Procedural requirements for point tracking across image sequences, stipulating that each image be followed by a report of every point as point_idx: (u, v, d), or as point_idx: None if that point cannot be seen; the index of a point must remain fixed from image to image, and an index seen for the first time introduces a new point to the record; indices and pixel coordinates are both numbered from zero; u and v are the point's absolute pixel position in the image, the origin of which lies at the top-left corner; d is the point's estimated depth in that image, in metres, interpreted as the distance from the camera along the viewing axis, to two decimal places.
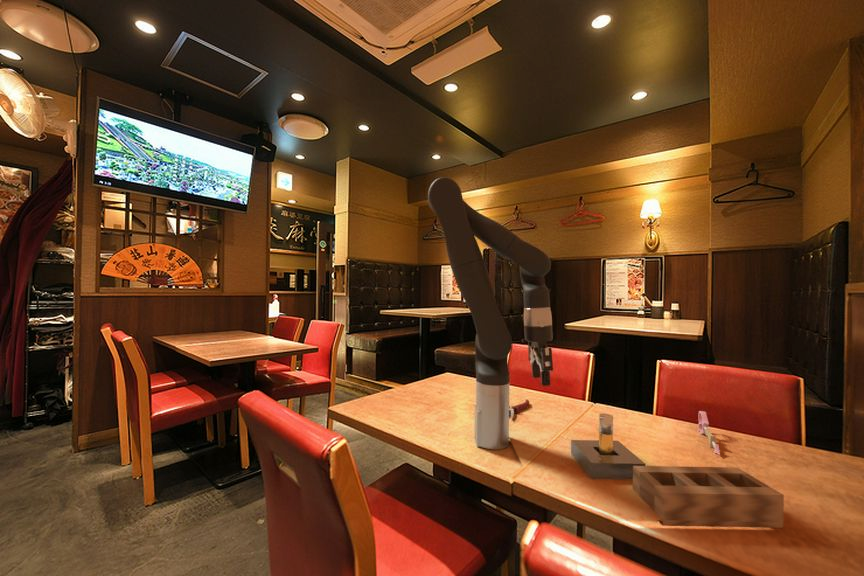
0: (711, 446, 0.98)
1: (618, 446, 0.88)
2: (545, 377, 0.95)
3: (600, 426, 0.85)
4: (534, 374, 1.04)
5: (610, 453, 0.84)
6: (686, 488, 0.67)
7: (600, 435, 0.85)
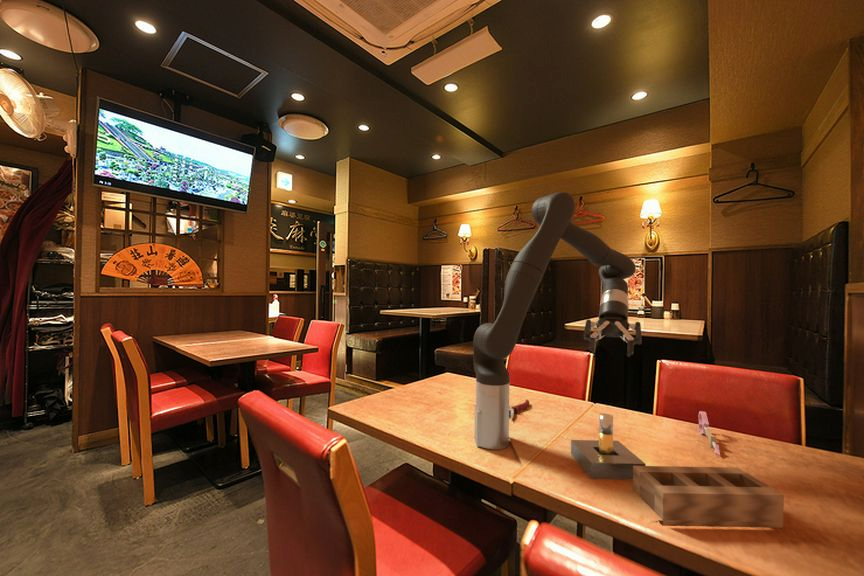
0: (711, 446, 0.98)
1: (618, 446, 0.88)
2: (633, 346, 0.94)
3: (600, 426, 0.85)
4: (594, 347, 0.98)
5: (610, 453, 0.84)
6: (686, 488, 0.67)
7: (600, 435, 0.85)
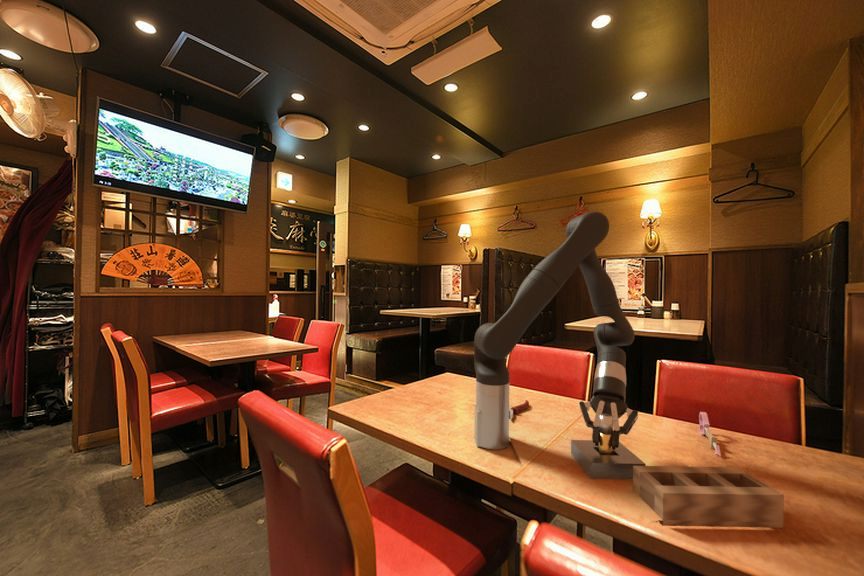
0: (712, 447, 0.98)
1: None
2: (618, 438, 0.84)
3: (600, 426, 0.85)
4: (598, 439, 0.85)
5: (610, 453, 0.84)
6: (686, 488, 0.67)
7: (600, 435, 0.85)
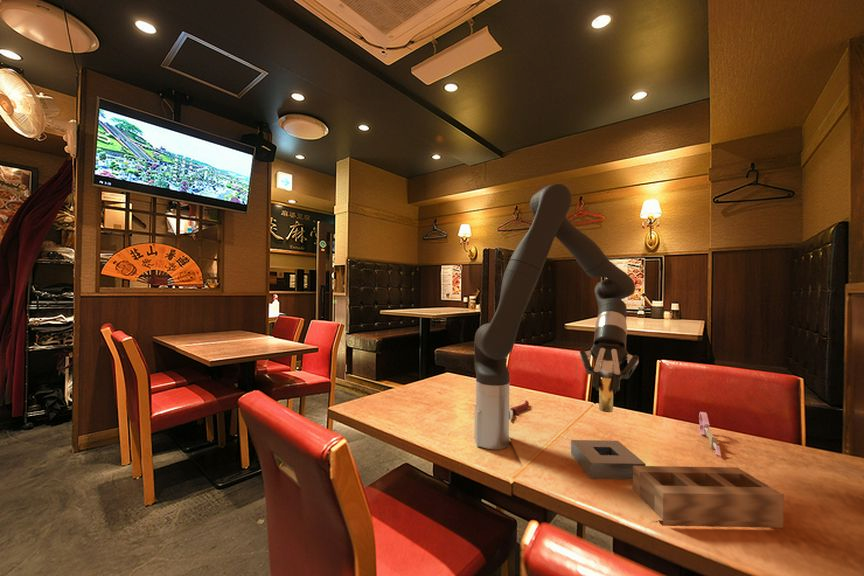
0: (712, 447, 0.97)
1: (618, 446, 0.88)
2: None
3: (601, 370, 0.85)
4: (598, 383, 0.85)
5: (610, 397, 0.84)
6: (686, 488, 0.67)
7: (600, 380, 0.85)
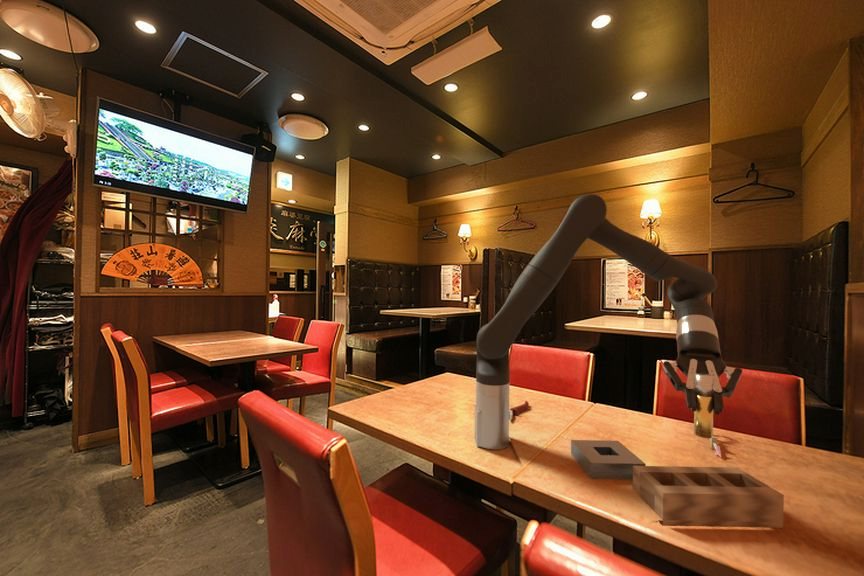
0: (712, 448, 0.97)
1: (618, 446, 0.88)
2: None
3: (697, 387, 0.71)
4: (695, 403, 0.70)
5: (711, 419, 0.69)
6: (686, 488, 0.67)
7: (697, 398, 0.71)
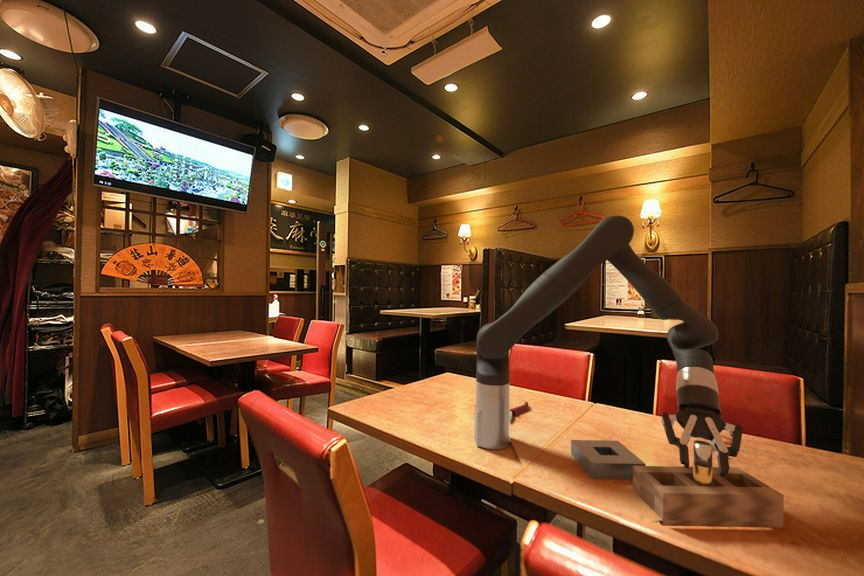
0: (713, 448, 0.97)
1: (618, 446, 0.88)
2: None
3: (696, 456, 0.70)
4: (688, 460, 0.70)
5: None
6: (686, 488, 0.67)
7: (696, 468, 0.70)
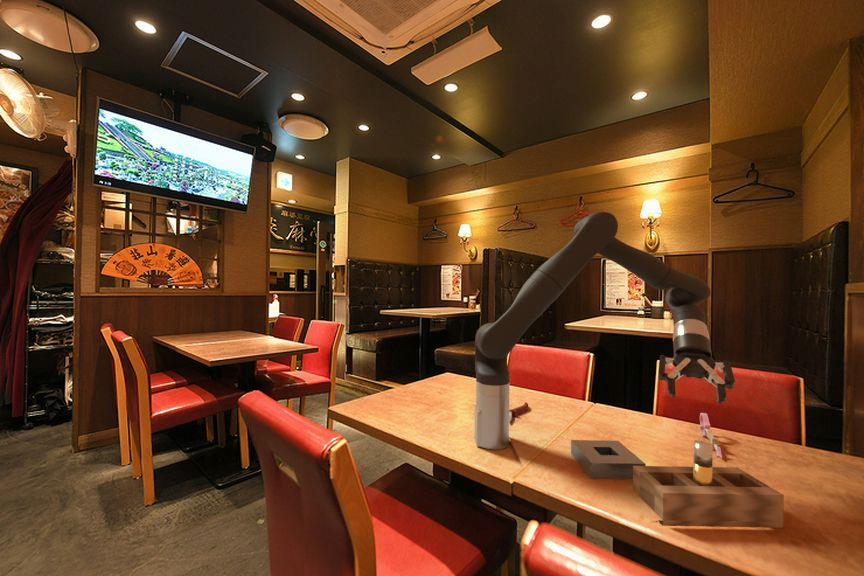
0: (713, 449, 0.97)
1: (618, 446, 0.88)
2: None
3: (696, 456, 0.70)
4: None
5: None
6: (686, 488, 0.67)
7: (696, 468, 0.70)
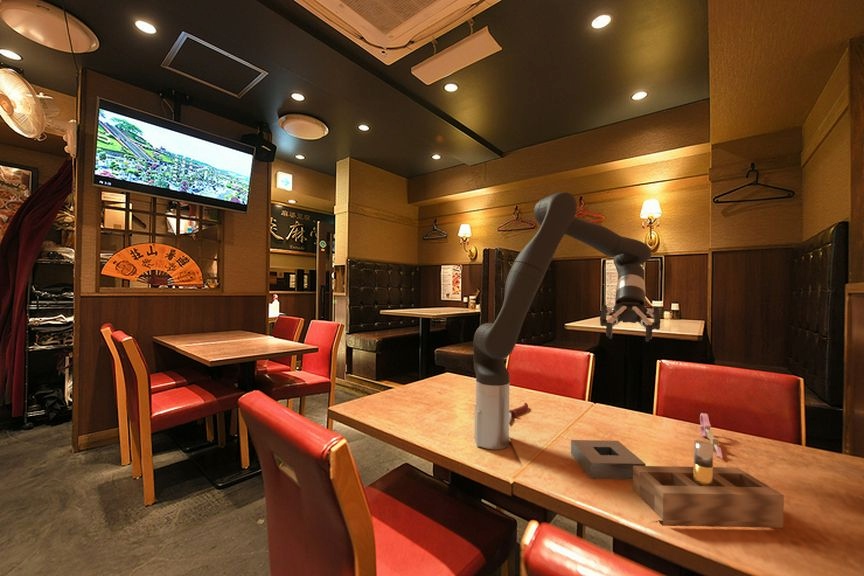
0: (713, 449, 0.96)
1: (618, 446, 0.88)
2: (651, 331, 0.92)
3: (696, 456, 0.70)
4: (611, 332, 0.96)
5: None
6: (686, 488, 0.67)
7: (696, 468, 0.70)
